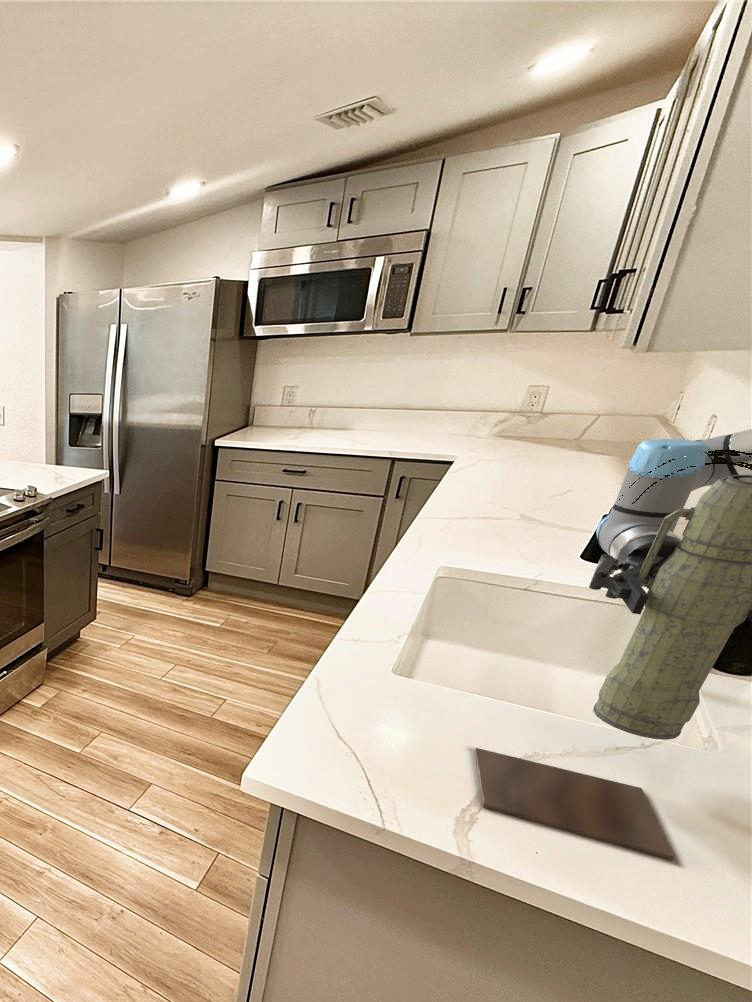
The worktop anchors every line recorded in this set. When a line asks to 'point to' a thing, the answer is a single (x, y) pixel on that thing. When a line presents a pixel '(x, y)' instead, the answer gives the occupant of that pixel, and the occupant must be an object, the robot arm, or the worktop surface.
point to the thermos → (684, 615)
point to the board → (570, 802)
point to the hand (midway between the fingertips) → (703, 612)
